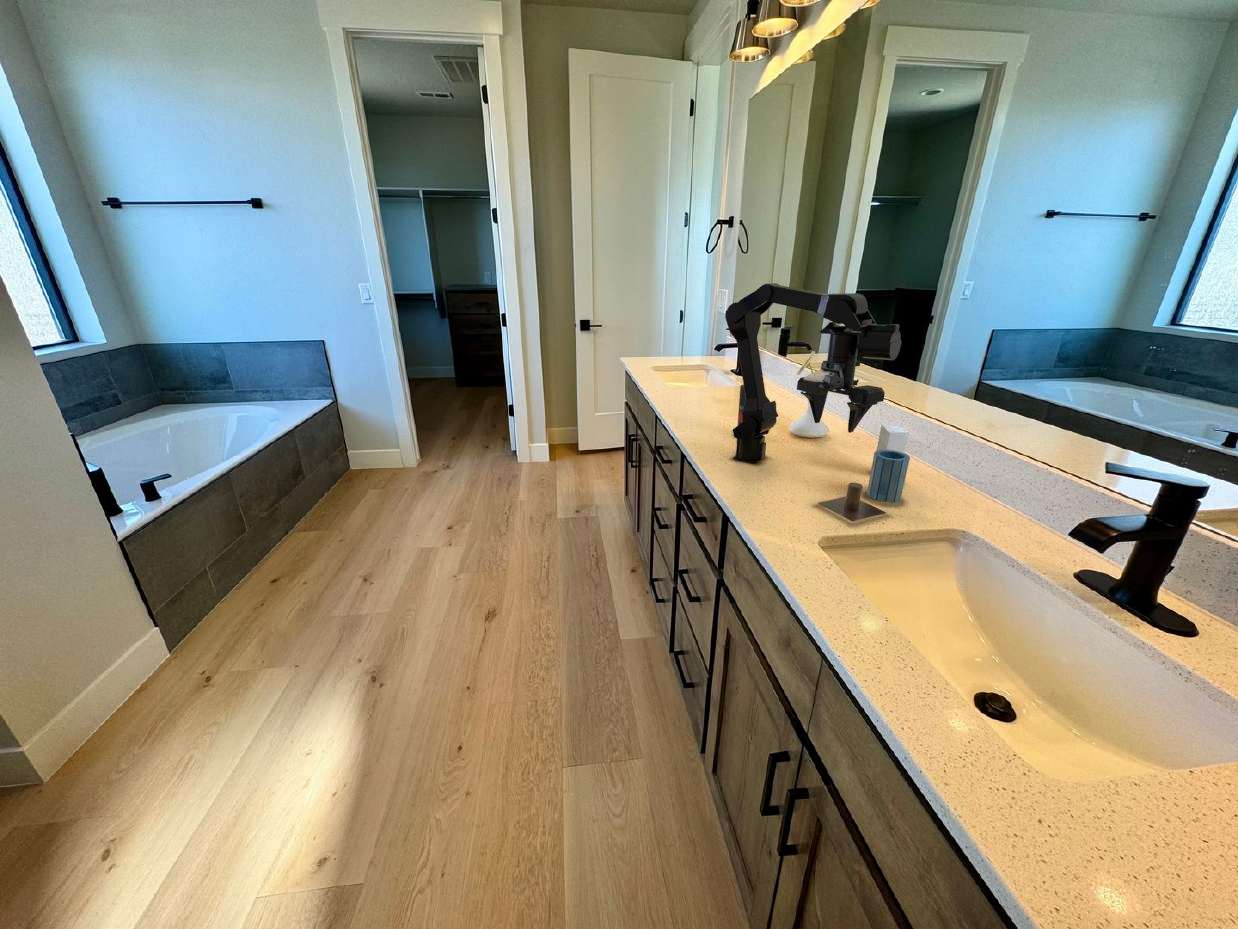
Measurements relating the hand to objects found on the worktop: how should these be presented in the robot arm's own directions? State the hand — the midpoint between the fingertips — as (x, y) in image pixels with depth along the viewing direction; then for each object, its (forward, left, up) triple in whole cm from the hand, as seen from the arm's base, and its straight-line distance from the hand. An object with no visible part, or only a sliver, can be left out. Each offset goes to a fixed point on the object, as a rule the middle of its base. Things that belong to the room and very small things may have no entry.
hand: (833, 427), depth 109 cm
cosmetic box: (+11, +10, -13) cm, 20 cm away
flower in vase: (-14, +32, -13) cm, 37 cm away
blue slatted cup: (+13, -3, -13) cm, 18 cm away
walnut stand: (+9, -13, -13) cm, 20 cm away
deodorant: (-28, +21, -13) cm, 38 cm away
